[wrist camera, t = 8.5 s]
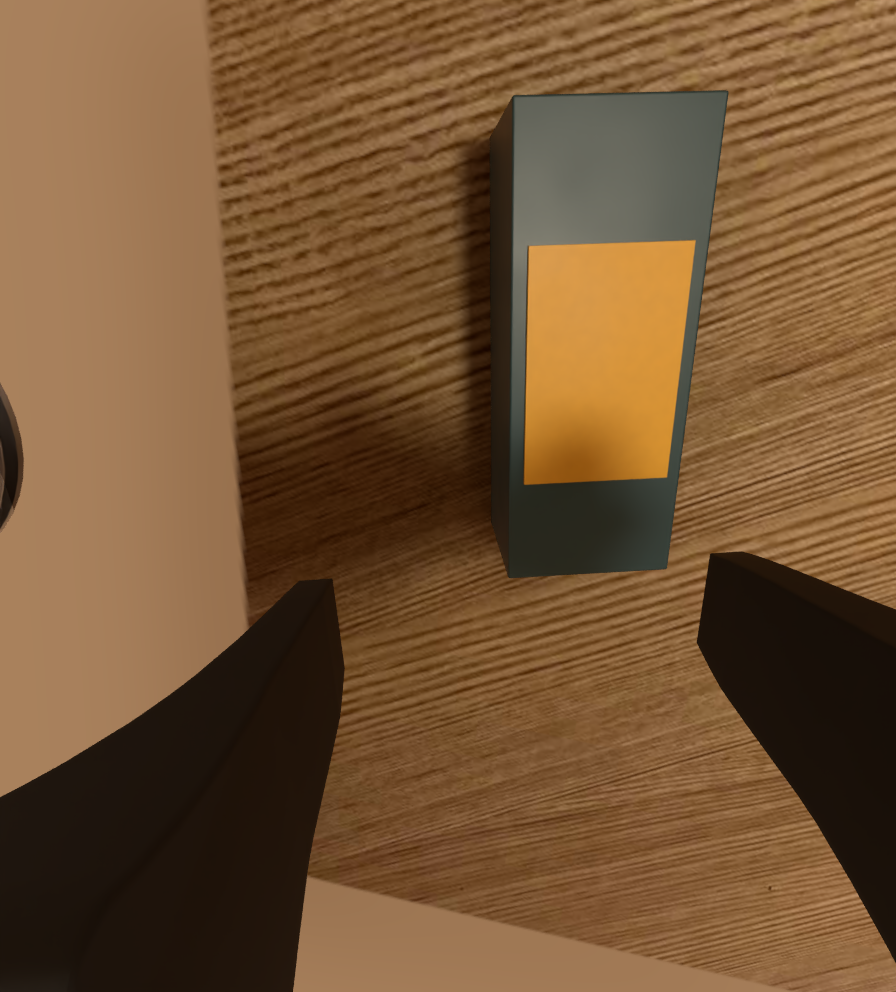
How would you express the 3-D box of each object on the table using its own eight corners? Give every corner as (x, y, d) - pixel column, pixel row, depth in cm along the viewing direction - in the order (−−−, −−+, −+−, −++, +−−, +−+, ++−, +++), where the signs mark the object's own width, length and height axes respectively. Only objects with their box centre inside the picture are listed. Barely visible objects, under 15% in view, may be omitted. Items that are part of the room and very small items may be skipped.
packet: (621, 515, 20) (668, 571, 17) (491, 522, 20) (508, 580, 16) (656, 132, 16) (732, 87, 12) (489, 136, 16) (513, 93, 12)
